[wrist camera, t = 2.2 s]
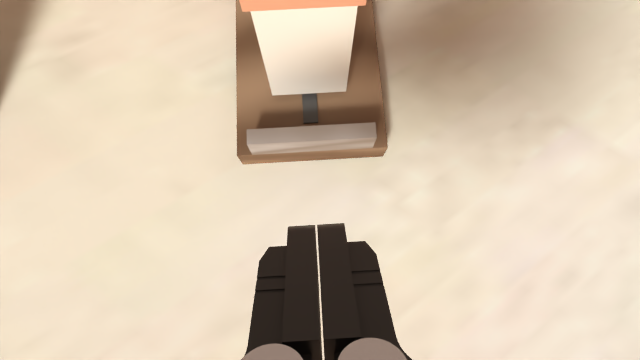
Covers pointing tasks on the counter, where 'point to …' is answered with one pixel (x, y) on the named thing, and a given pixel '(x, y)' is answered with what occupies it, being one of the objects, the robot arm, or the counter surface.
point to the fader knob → (305, 42)
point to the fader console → (309, 105)
